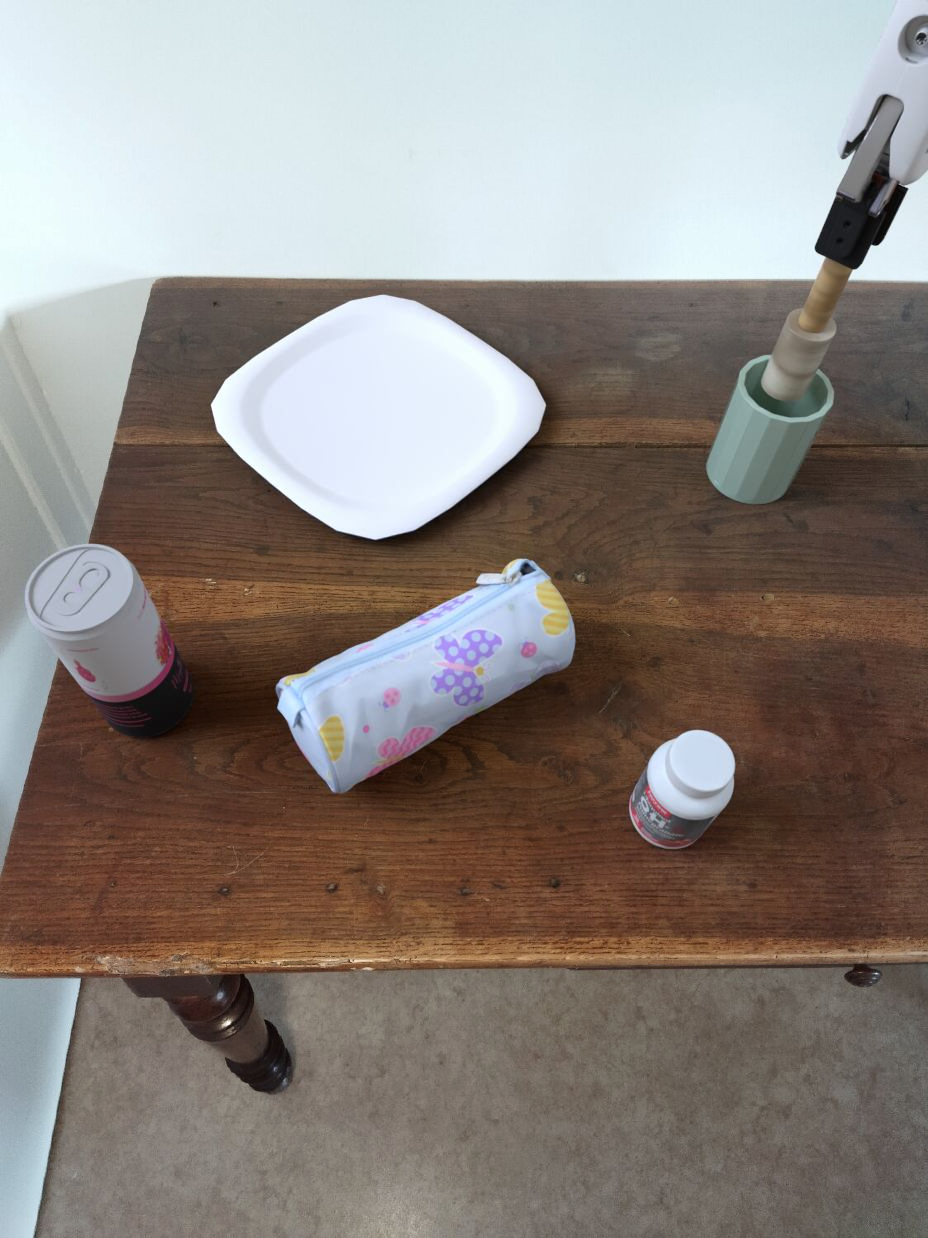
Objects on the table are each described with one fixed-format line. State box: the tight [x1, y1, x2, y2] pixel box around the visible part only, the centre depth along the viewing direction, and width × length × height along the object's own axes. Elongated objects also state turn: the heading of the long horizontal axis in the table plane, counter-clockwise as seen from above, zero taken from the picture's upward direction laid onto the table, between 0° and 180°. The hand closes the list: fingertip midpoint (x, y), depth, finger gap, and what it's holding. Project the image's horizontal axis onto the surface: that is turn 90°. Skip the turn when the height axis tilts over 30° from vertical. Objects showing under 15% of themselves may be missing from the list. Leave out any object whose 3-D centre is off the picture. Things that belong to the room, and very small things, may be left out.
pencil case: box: [275, 558, 576, 795], centre depth 61 cm, size 21×9×10 cm, turn 123°
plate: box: [210, 294, 547, 542], centre depth 79 cm, size 25×25×2 cm
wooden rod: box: [761, 172, 898, 402], centre depth 62 cm, size 4×4×18 cm
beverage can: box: [24, 543, 195, 738], centre depth 58 cm, size 7×6×15 cm
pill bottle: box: [628, 729, 736, 850], centre depth 57 cm, size 5×5×10 cm
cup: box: [705, 354, 835, 505], centre depth 74 cm, size 7×7×10 cm
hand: (848, 245), depth 59 cm, fingers closed on wooden rod, 2 cm apart
